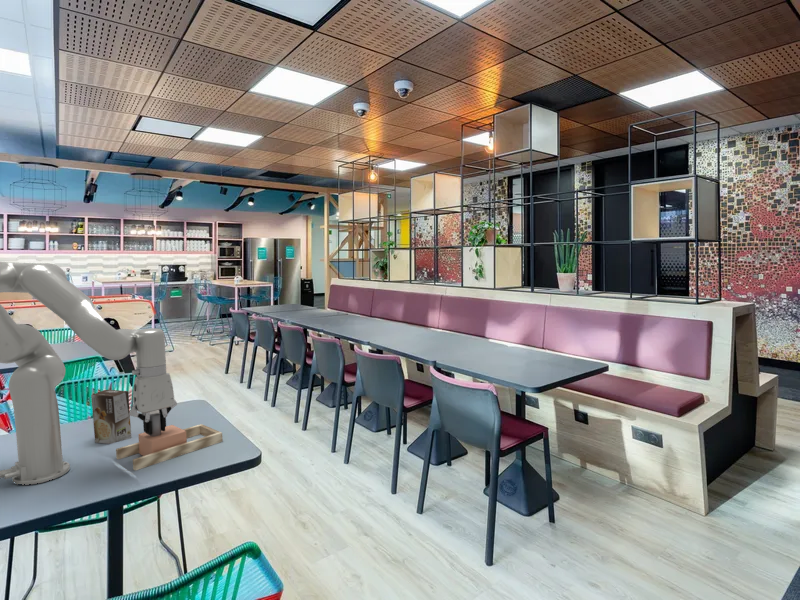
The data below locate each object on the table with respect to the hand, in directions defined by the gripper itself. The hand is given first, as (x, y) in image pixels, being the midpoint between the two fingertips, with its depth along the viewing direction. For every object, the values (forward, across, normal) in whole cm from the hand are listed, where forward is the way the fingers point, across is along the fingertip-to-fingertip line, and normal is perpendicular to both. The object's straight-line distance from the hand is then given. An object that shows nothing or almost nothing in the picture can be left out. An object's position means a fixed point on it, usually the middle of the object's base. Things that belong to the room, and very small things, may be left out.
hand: (155, 431), depth 138 cm
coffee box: (+8, -2, +26) cm, 27 cm away
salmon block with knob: (+7, +2, 0) cm, 7 cm away
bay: (+8, +4, 0) cm, 9 cm away
